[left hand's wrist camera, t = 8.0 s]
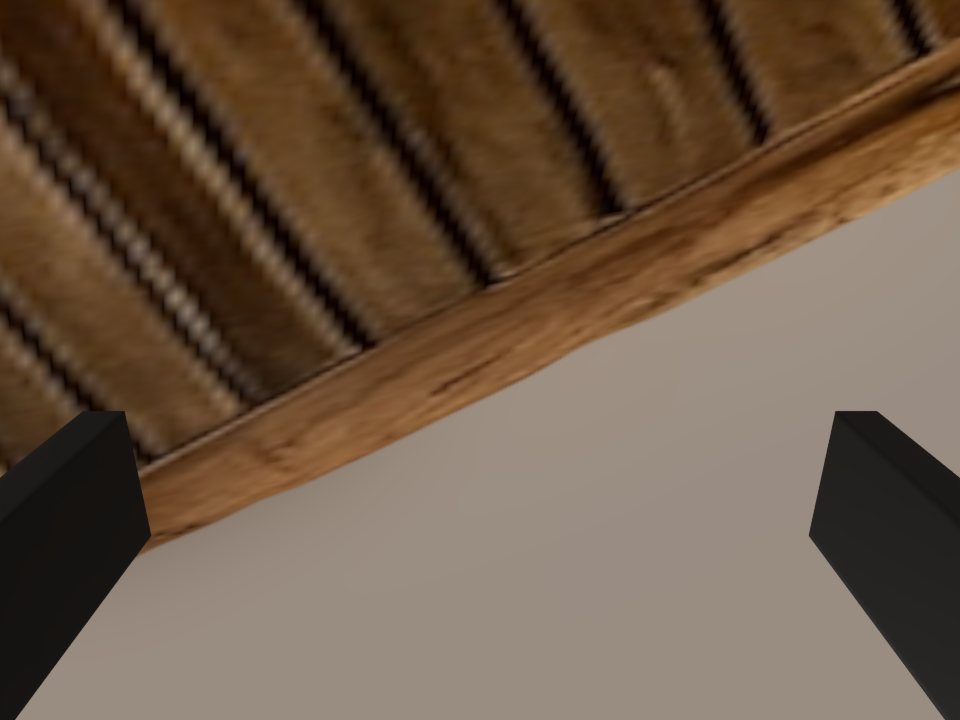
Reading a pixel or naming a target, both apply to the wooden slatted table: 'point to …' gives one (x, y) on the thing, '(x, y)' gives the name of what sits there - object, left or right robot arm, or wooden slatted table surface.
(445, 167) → the wooden slatted table surface
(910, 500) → the left robot arm
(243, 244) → the wooden slatted table surface
